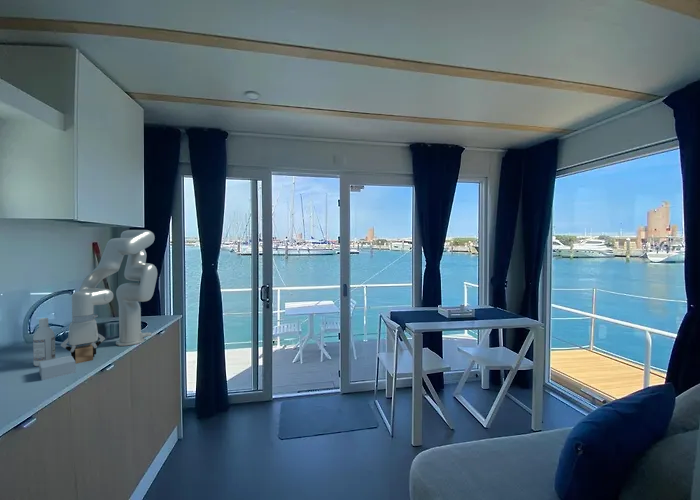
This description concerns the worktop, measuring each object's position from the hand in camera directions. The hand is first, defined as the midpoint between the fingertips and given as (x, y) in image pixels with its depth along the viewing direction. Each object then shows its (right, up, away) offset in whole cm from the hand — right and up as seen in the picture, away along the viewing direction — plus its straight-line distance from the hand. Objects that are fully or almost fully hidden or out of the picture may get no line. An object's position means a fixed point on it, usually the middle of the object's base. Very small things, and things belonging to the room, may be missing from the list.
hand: (83, 357), depth 145 cm
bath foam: (-14, -1, -4) cm, 14 cm away
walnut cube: (0, -1, 0) cm, 1 cm away
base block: (+1, -2, -14) cm, 14 cm away
